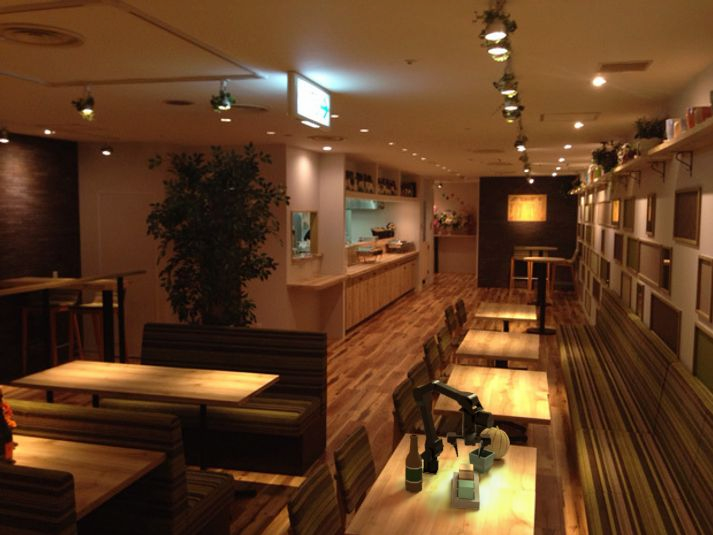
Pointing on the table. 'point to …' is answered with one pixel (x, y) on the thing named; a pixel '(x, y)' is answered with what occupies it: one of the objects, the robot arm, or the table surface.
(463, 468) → the light brown block
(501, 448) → the cantaloupe
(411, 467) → the beer bottle
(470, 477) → the tan block
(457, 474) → the grey rectangular tray
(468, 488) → the green block
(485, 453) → the flower pot
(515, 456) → the table surface
